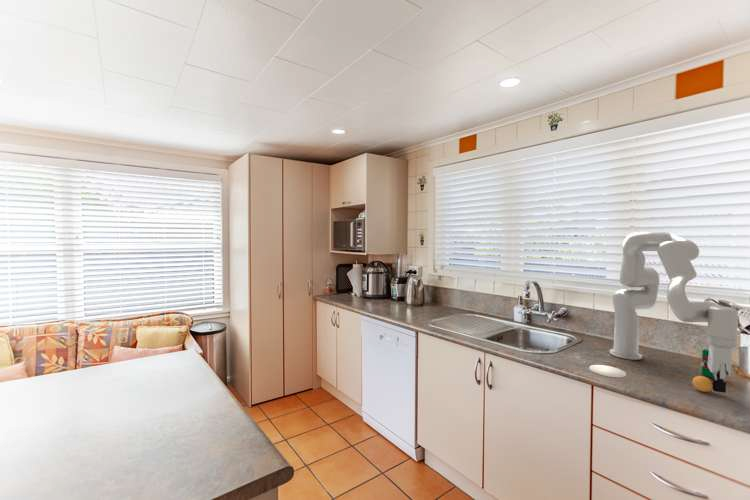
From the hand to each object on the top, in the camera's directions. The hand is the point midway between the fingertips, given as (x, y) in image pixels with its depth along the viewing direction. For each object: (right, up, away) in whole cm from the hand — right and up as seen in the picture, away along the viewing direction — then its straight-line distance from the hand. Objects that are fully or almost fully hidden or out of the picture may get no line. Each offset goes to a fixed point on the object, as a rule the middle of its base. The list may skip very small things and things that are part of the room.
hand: (718, 390), depth 125 cm
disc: (-26, 0, +21) cm, 34 cm away
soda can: (+12, -1, +16) cm, 20 cm away
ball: (-3, +2, +3) cm, 5 cm away
